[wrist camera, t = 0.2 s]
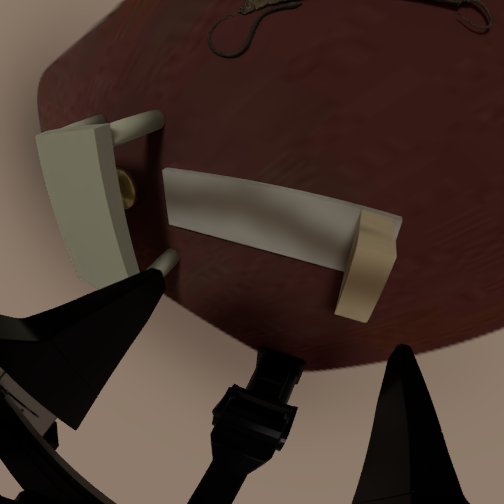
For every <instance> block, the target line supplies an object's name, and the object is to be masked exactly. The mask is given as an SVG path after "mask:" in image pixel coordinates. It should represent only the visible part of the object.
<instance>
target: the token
mask: <svg viewBox="0 0 504 504" xmlns="http://www.w3.org/2000/svg"><path fill="white" fill-rule="evenodd" d="M116 171H117V177H118V182H119V188H120V193H121V198H122V203H123V207H124V210H125V209H128V208H130V207H131V206H133V205H134V204H135V203H136V202H137V200H138V187H137V183H136V181H135V179H134V177H133V176H132V174H131V173H130V172H129V171H128V170H127V169H125V168H123V167H116Z"/></svg>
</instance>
